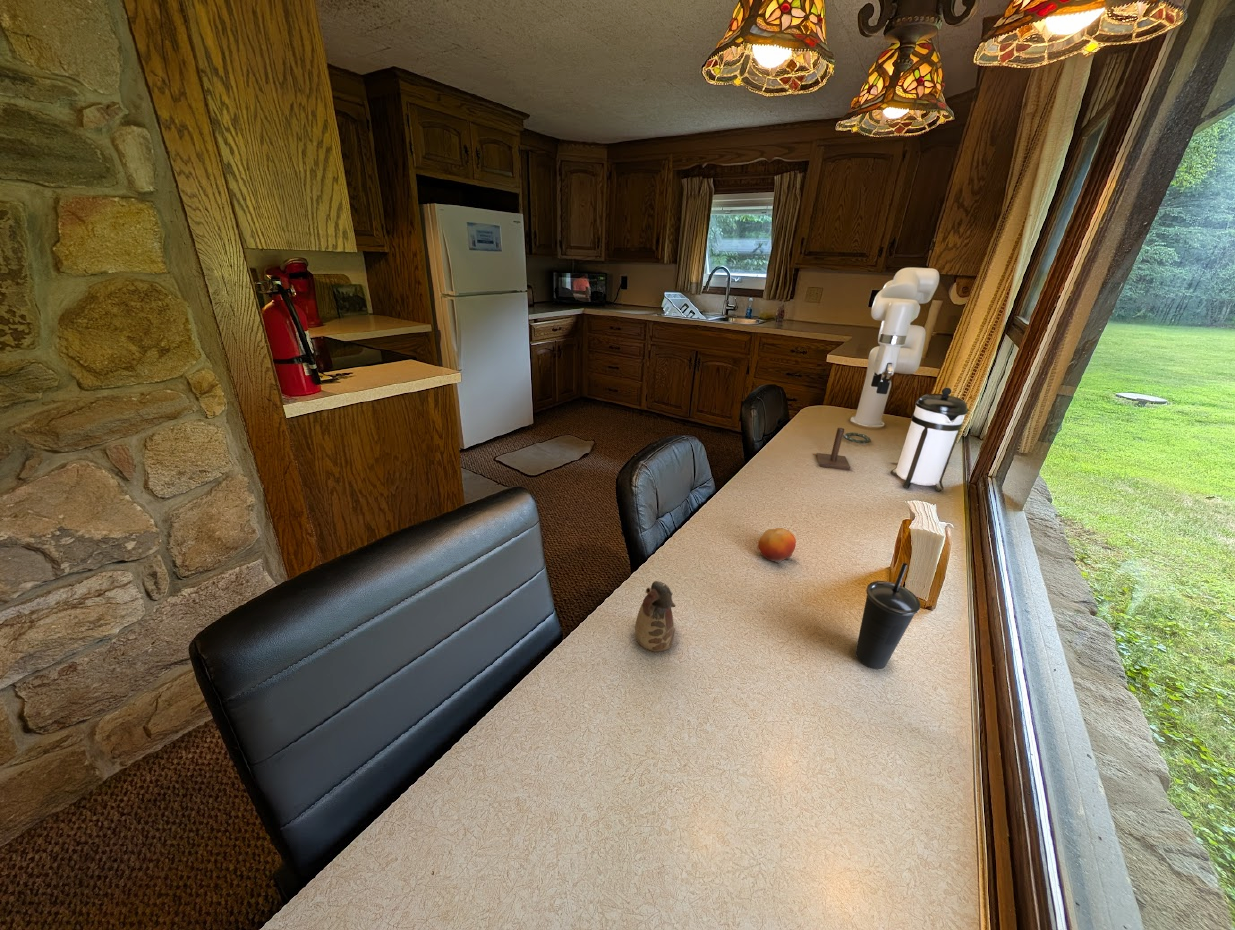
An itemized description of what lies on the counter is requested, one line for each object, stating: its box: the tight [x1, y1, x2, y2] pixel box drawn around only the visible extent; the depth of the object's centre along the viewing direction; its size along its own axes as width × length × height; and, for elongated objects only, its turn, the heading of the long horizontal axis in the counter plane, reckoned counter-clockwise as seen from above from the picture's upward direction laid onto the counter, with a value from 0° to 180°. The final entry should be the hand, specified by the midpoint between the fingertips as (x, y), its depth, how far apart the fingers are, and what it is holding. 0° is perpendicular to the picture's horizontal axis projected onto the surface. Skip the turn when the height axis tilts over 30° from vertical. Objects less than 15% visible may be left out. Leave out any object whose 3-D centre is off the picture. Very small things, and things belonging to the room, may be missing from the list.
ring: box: [842, 432, 872, 444], centre depth 172 cm, size 9×9×2 cm
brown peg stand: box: [816, 427, 851, 471], centre depth 151 cm, size 9×9×12 cm
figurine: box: [634, 580, 677, 653], centre depth 80 cm, size 7×7×12 cm
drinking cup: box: [855, 562, 921, 670], centre depth 75 cm, size 8×8×20 cm
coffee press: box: [889, 387, 970, 493], centre depth 137 cm, size 17×16×30 cm
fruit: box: [757, 527, 797, 564], centre depth 104 cm, size 8×8×8 cm
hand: (878, 390), depth 160 cm, fingers open, 9 cm apart
